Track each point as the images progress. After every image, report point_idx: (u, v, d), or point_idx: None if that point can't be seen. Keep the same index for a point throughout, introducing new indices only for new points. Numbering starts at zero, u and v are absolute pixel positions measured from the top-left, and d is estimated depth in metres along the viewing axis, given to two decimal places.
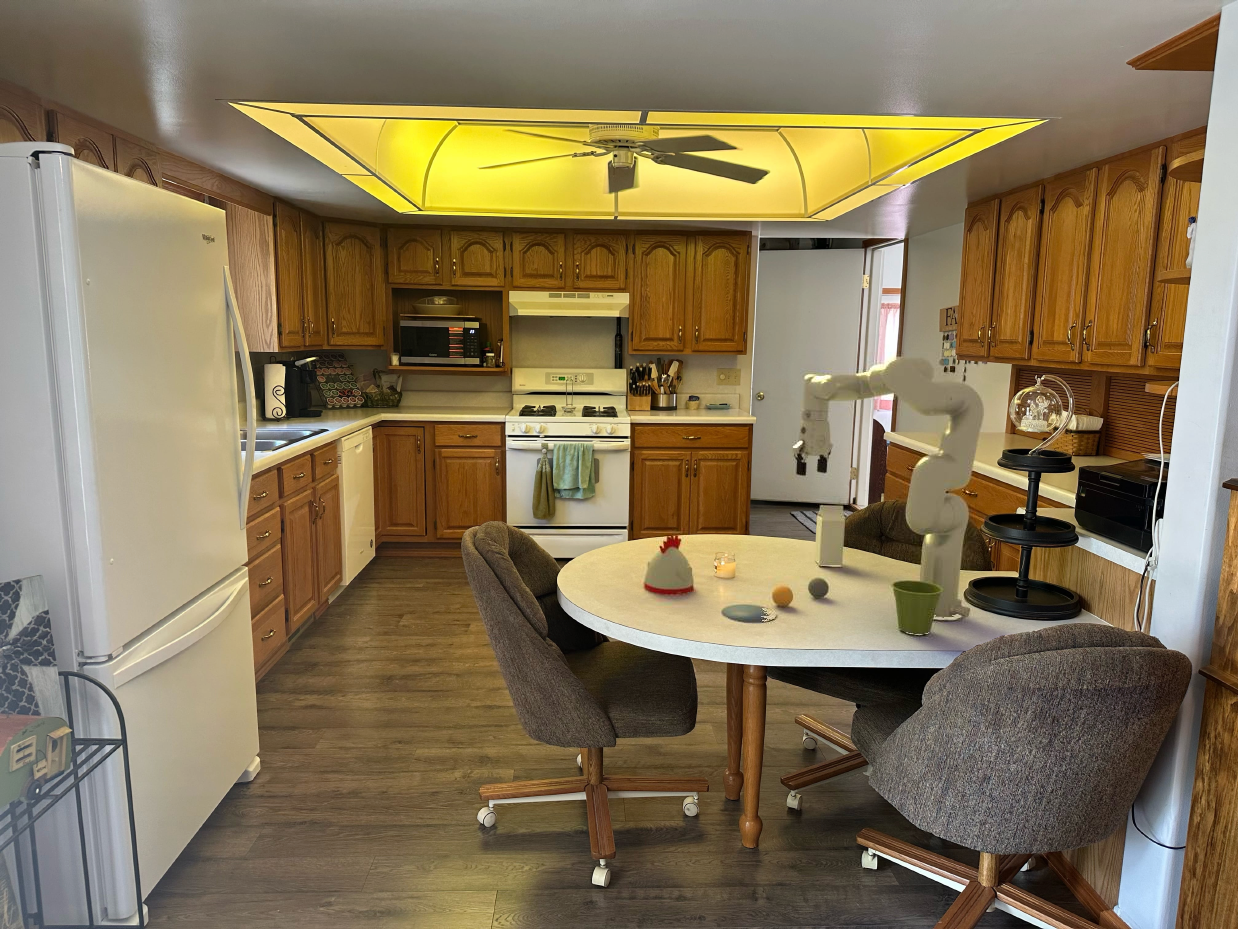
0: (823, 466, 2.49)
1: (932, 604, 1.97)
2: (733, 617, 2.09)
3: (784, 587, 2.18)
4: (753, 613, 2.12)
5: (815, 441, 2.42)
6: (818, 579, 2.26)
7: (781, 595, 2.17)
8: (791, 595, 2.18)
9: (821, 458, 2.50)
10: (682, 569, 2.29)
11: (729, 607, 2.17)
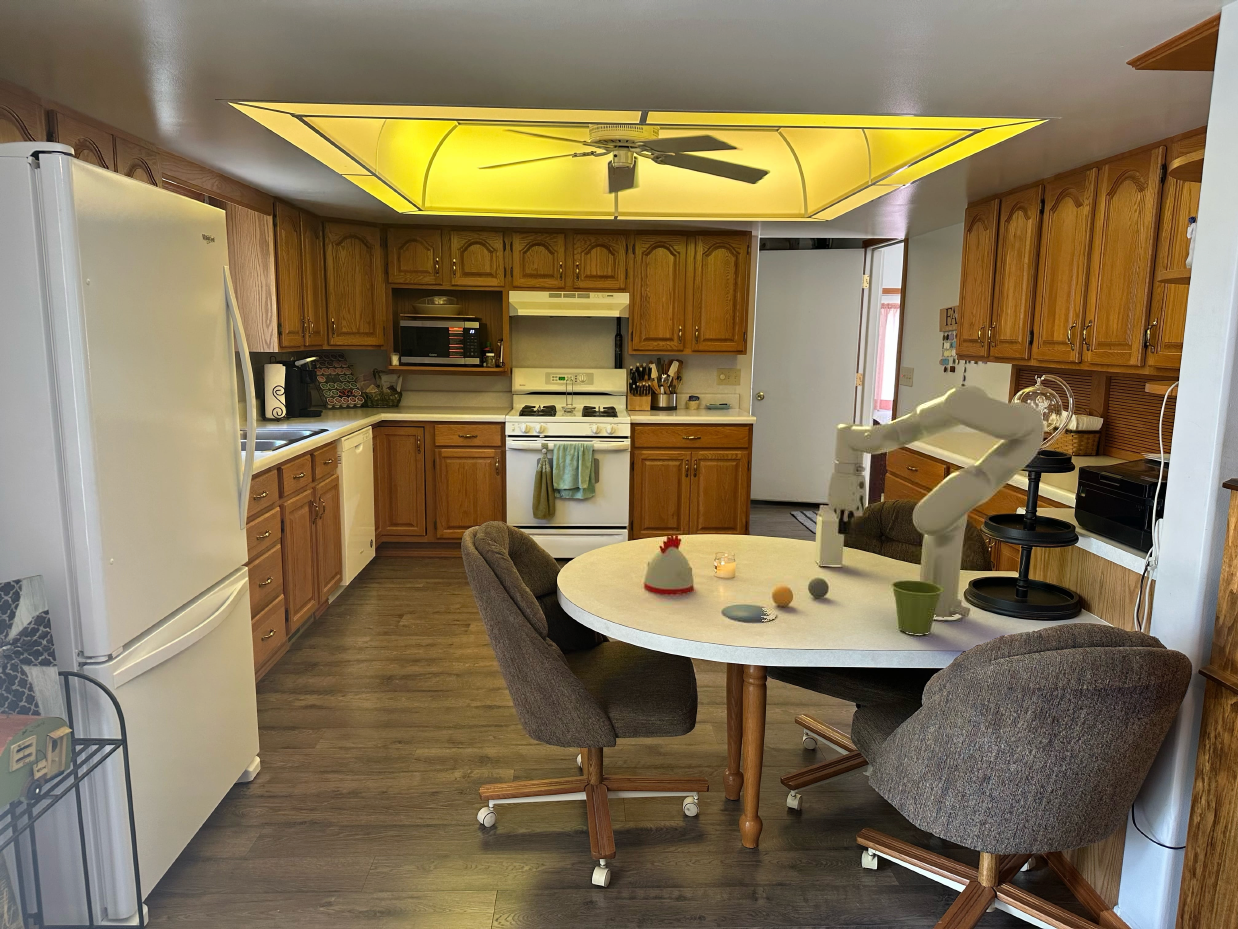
0: None
1: (932, 604, 1.97)
2: (733, 617, 2.09)
3: (784, 587, 2.18)
4: (753, 613, 2.12)
5: None
6: (818, 579, 2.26)
7: (781, 595, 2.17)
8: (791, 595, 2.18)
9: (843, 518, 2.31)
10: (682, 569, 2.29)
11: (729, 607, 2.17)
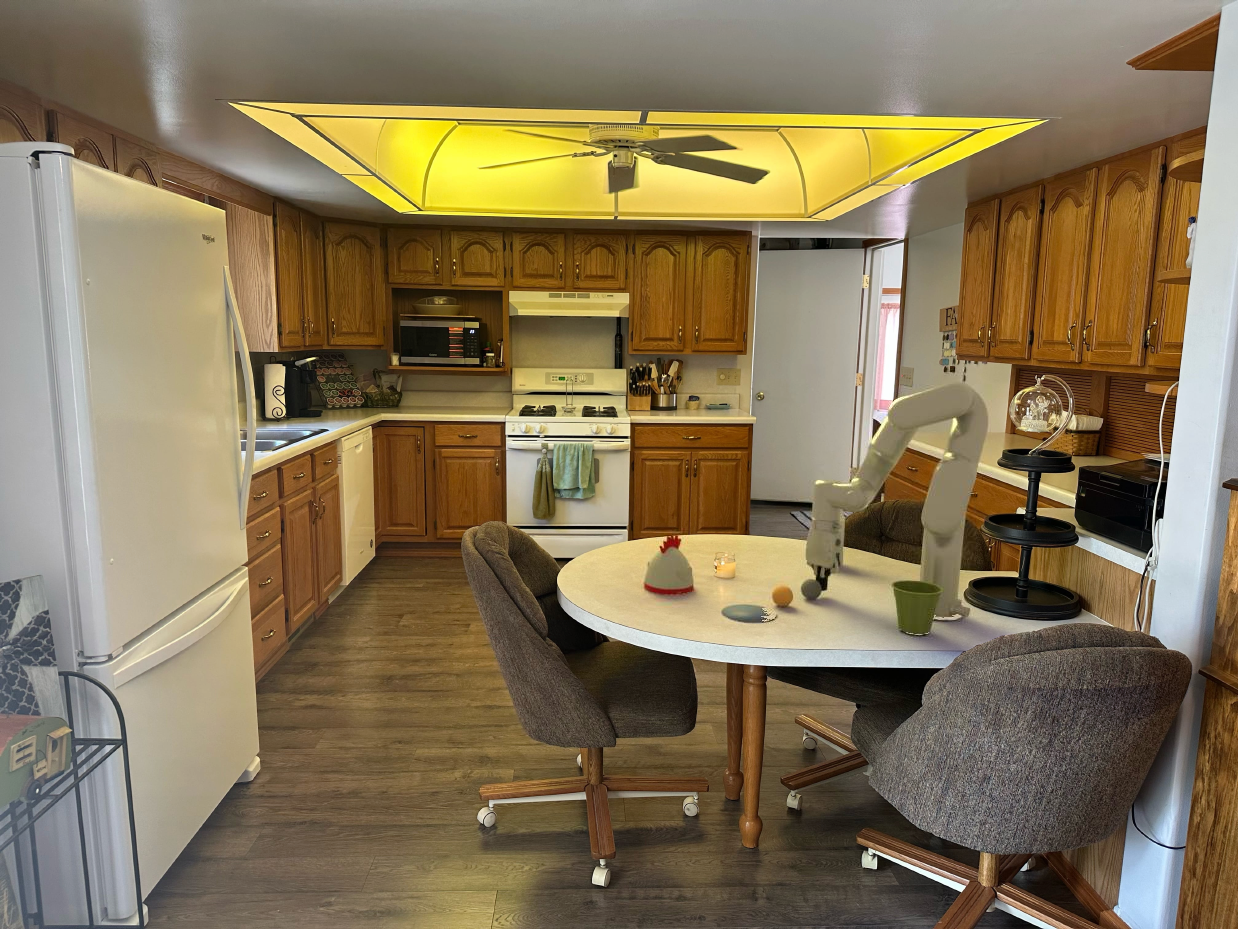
0: None
1: (932, 604, 1.97)
2: (733, 617, 2.09)
3: (784, 587, 2.18)
4: (753, 613, 2.12)
5: None
6: (807, 584, 2.24)
7: (781, 595, 2.17)
8: (791, 595, 2.18)
9: (820, 575, 2.28)
10: (682, 569, 2.29)
11: (729, 607, 2.17)
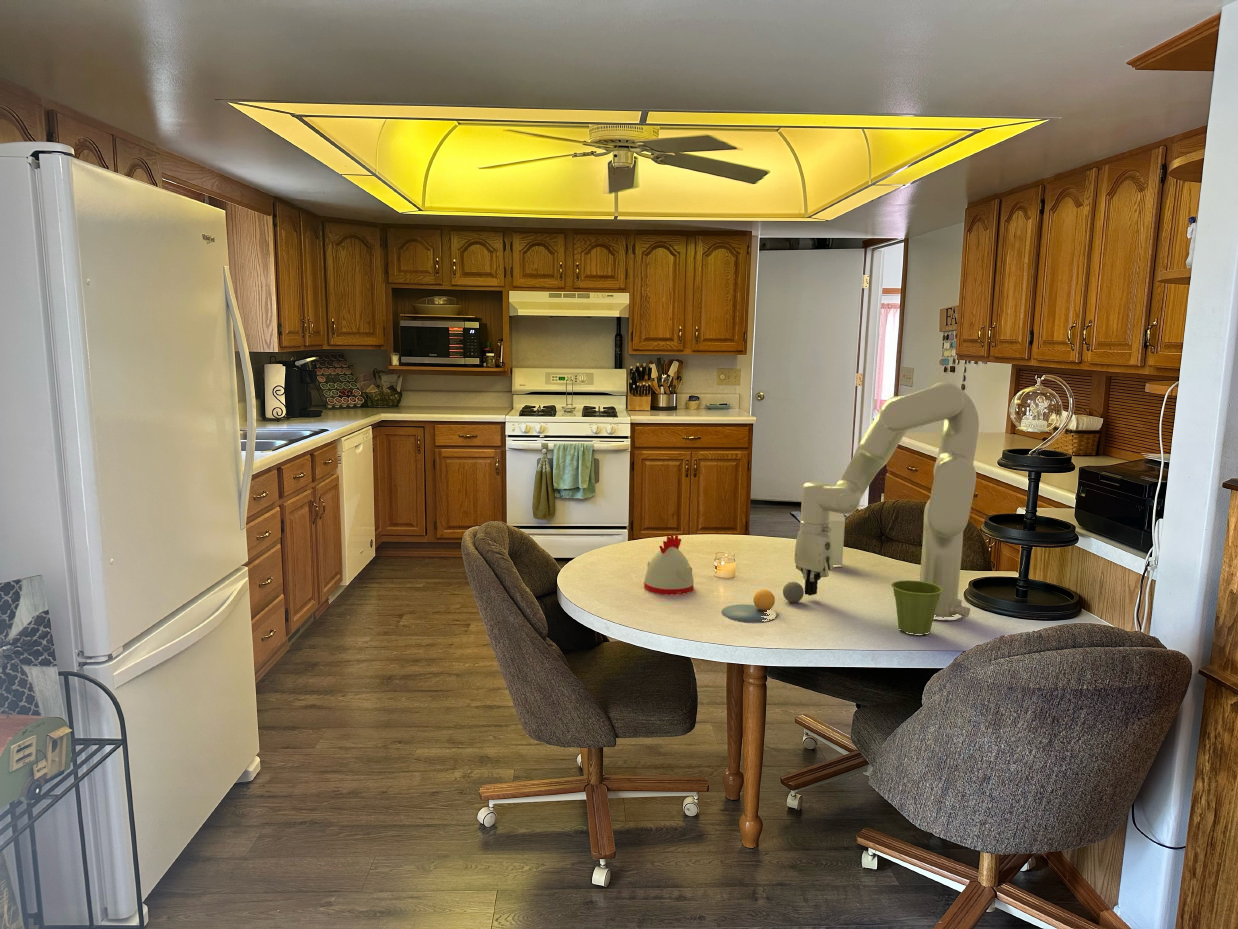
0: None
1: (932, 604, 1.97)
2: (733, 617, 2.09)
3: (762, 609, 2.14)
4: (753, 613, 2.12)
5: None
6: None
7: (770, 608, 2.15)
8: (768, 603, 2.13)
9: (809, 578, 2.25)
10: (682, 569, 2.29)
11: (729, 607, 2.17)
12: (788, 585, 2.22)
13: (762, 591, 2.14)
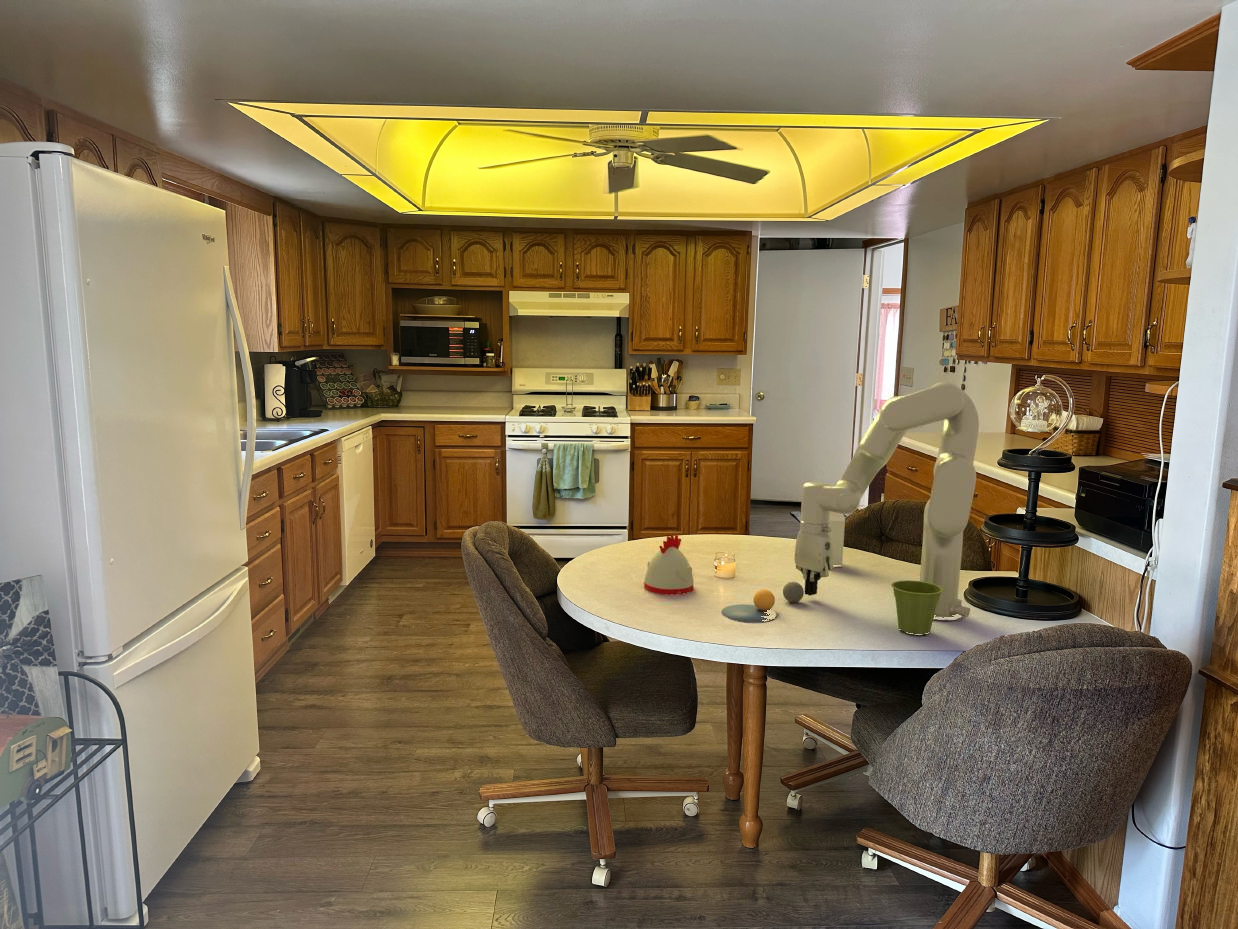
0: None
1: (932, 604, 1.97)
2: (733, 617, 2.09)
3: (762, 609, 2.14)
4: (753, 613, 2.12)
5: None
6: None
7: (770, 608, 2.15)
8: (768, 603, 2.13)
9: (809, 578, 2.25)
10: (682, 569, 2.29)
11: (729, 607, 2.17)
12: (788, 585, 2.22)
13: (762, 591, 2.14)
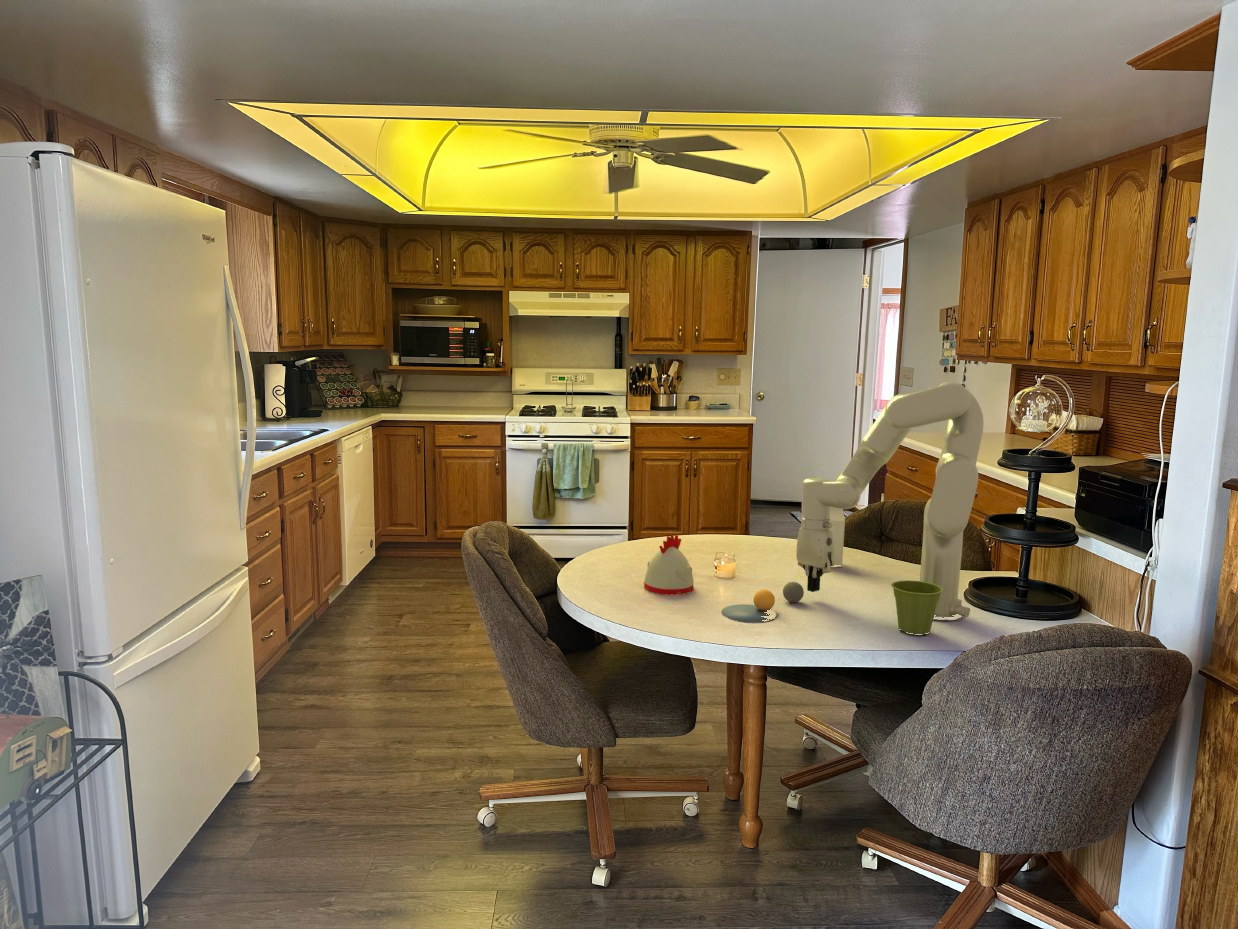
0: None
1: (932, 604, 1.97)
2: (733, 617, 2.09)
3: (762, 609, 2.14)
4: (753, 613, 2.12)
5: None
6: None
7: (770, 608, 2.15)
8: (768, 603, 2.13)
9: (812, 575, 2.25)
10: (682, 569, 2.29)
11: (729, 607, 2.17)
12: (788, 585, 2.22)
13: (762, 591, 2.14)
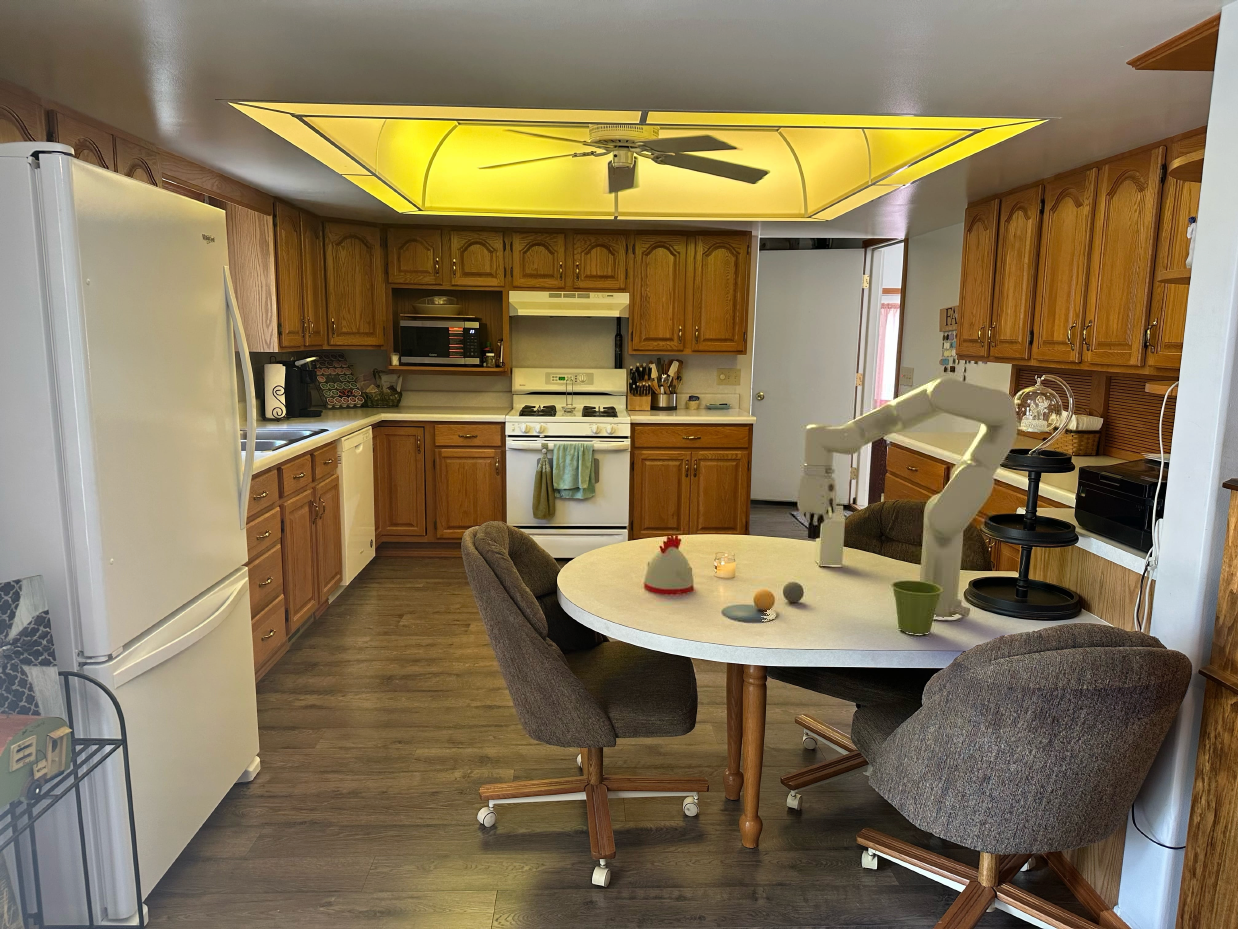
0: None
1: (932, 604, 1.97)
2: (733, 617, 2.09)
3: (762, 609, 2.14)
4: (753, 613, 2.12)
5: None
6: None
7: (770, 608, 2.15)
8: (768, 603, 2.13)
9: (813, 522, 2.23)
10: (682, 569, 2.29)
11: (729, 607, 2.17)
12: (788, 585, 2.22)
13: (762, 591, 2.14)
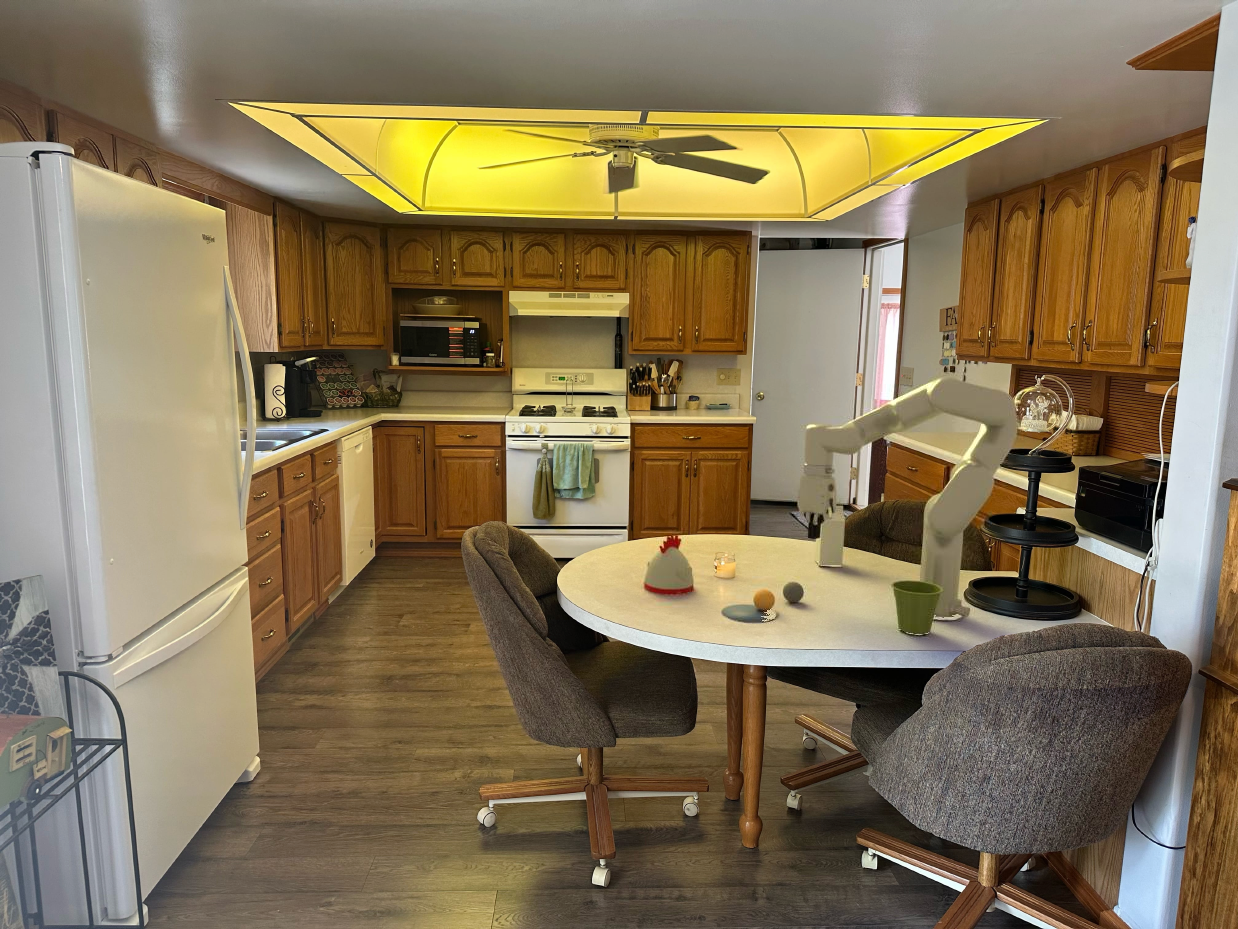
0: None
1: (932, 604, 1.97)
2: (733, 617, 2.09)
3: (762, 609, 2.14)
4: (753, 613, 2.12)
5: None
6: None
7: (770, 608, 2.15)
8: (768, 603, 2.13)
9: (813, 522, 2.23)
10: (682, 569, 2.29)
11: (729, 607, 2.17)
12: (788, 585, 2.22)
13: (762, 591, 2.14)
